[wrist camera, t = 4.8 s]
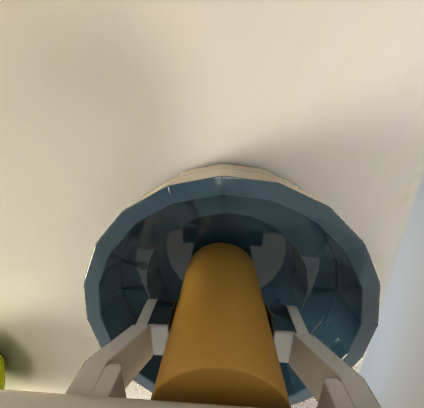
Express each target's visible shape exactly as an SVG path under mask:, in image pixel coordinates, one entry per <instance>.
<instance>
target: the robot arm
mask: <svg viewBox="0 0 424 408" xmlns="http://www.w3.org/2000/svg"><path fill="white" fill-rule="evenodd" d="M176 306H177V300H164V299H148V300H147V302H146V304H145V306H144V308H143V310H142V312H141V314H140V316H139V318H138V321H137V323H136V325H132V326H130V327H129V328H128V329H126V330H125V331H124V332H123V333H121V334H120V335H119V336H117V337H116V338H115V339H114V340H112V341H111V342H110V343H108V344H107V345H106V346H104V347H103V348H102V349H101V350H99V351H98V352H97V353H95V354H94V355H93V356H92V357H90V358H89V359H88V360H86V361H85V363H84V364H83V366H82V368H81V369H80V371H79V372H78V374H77V376H76V377H75V379H74V380H73V382H72V384H71V385H70V387H69V388H68V390H67V392H66V393H65V394H58V393H43V392H29V391H15V390H0V408H258V407H243V406H229V405H215V404H201V403H186V402H172V401H158V400H144V399H129V398H126V393H125V388H126V387H127V386H128V385H129V384H130V382H131V381H132V380H133V379H134V378H135V377H136V375H137V374H138V373H139V372H140V371H141V370H142V368H143V367H144V366H145V365H146V364H147V363H148V361H149V360H150V359H151V358H152V357H153V355H163V353H164V350H165V346H166V342H167V339H168V335H169V332H170V328H171V324H172V321H173V317H174V313H175V310H176ZM265 308H266V312H267V316H268V320H269V324H270V328H271V332H272V336H273V340H274V343H275V347H276V351H277V355H278V359H279V362H282V363H289V365H290V367H291V368H292V369H293V370H294V372H295V373H296V374H297V376H298V377H299V378H300V380H301V381H302V382H303V383H304V385H305V386H306V387H307V389H308V390H309V391H310V393H311V394H312V395H313V396H314V398H315V399H316V400H317V402H318V406H317V408H381V406H380V405H379V403H378V401H377V400H376V398H375V396H374V395H373V393H372V391H371V389H370V388H369V386H368V384H367V383H366V381H365V379H364V378H363V377H361V376H360V375H359V374H358V373H357V372H356V371H355V370H353V369H352V368H351V367H350V366H349V365H348V364H346V363H345V362H344V361H343V360H342V359H341V358H339V357H338V356H337V355H336V354H335V353H334V352H332V351H331V350H330V349H329V348H328V347H327V346H325V345H324V344H323V343H322V342H321V341H320V340H318V339H317V338H316V337H315V336H314V335H313V334H309V332H308V330H307V328H306V326H305V324H304V321H303V319H302V317H301V315H300V313H299V310H298V308H297V307H296V306H294V305H265Z"/></svg>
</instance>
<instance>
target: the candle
mask: <svg viewBox="0 0 424 408" xmlns="http://www.w3.org/2000/svg"><path fill="white" fill-rule="evenodd" d="M151 400H158V401H172V402H186V403H201V404H215V405H229V406H243V407H258V408H291V406H290V402H289V398H288V394H287V390H286V386H285V382H284V379H283V375H282V371H281V367H280V363H279V359H278V355H277V351H276V347H275V343H274V340H273V336H272V332H271V328H270V324H269V320H268V316H267V312H266V308H265V305H264V301H263V297H262V293H261V289H260V285H259V281H258V277H257V273H256V269H255V266H254V263H253V261H252V259H251V257H250V256H249V255H248V254H247V253H246V252H245V251H244V250H242V249H241V248H239V247H237V246H235V245H232V244H228V243H213V244H209V245H206V246H204V247H202V248H200V249H199V250H198V251H196V252H195V253H194V255H193V256H192V257H191V259H190V261H189V263H188V267H187V270H186V274H185V277H184V281H183V285H182V288H181V292H180V295H179V299H178V303H177V306H176V310H175V313H174V317H173V321H172V324H171V328H170V332H169V335H168V339H167V342H166V346H165V350H164V353H163V357H162V360H161V364H160V368H159V371H158V375H157V378H156V382H155V386H154V389H153V393H152V396H151Z"/></svg>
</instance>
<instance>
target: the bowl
mask: <svg viewBox="0 0 424 408" xmlns="http://www.w3.org/2000/svg"><path fill="white" fill-rule="evenodd" d="M213 243H228V244H232V245H235V246H237V247H239V248H241V249H242V250H244V251H245V252H246V253H247V254H248V255H249V256H250V257H251V259H252V261H253V263H254V266H255V269H256V273H257V277H258V281H259V285H260V289H261V293H262V297H263V301H264V305H294V306H296V307H297V308H298V310H299V313H300V315H301V317H302V319H303V321H304V324H305V326H306V328H307V330H308V332H309V334H313V335H314V336H315V337H316V338H317V339H318V340H320V341H321V342H322V343H323V344H324V345H325V346H327V347H328V348H329V349H330V350H331V351H332V352H334V353H335V354H336V355H337V356H338V357H339V358H341V359H342V360H343V361H344V362H345V363H346V364H348V365H349V366H350V367H351V368H352V367H353V366H354V365H355V364H356V363H357V362H358V361H359V360H360V359H361V357H363V355H364V353H365V351H366V349H367V347H368V345H369V342H370V340H371V338H372V336H373V334H374V332H375V330H376V328H377V326H378V317H379V297H380V282H379V279H378V277H377V274H376V271H375V269H374V266H373V264H372V261H371V259H370V256H369V253H368V251H367V248H366V246H365V244H364V242H363V241H362V240H361V239H360V238H359V237H358V236H357V235H356V234H355V232H354V231H353V230H352V229H351V228H350V227H349V226H348V225H347V224H346V223H345V222H344V221H343V220H342V219H341V218H340V217H339V216H338V215H337V214H336V213H335V212H334V211H333V210H332V209H331V208H330V207H329V206H327V205H326V204H324V203H323V202H321V201H319V200H318V199H316V198H315V197H313V196H311V195H310V194H308V193H306V192H305V191H303V190H302V189H300V188H298V187H297V186H295V185H294V184H292V183H290V182H288V181H286V180H284V179H282V178H280V177H277V176H275V175H273V174H271V173H269V172H267V171H265V170H263V169H260V168H254V167H246V166H238V165H231V164H218V165H212V166H207V167H202V168H197V169H192V170H187V171H185V172H183V173H181V174H180V175H178V176H176V177H174V178H173V179H171V180H169V181H167V182H166V183H164V184H162V185H160V186H158V187H157V188H155V189H154V190H152V191H151V192H149V193H148V194H147V195H145V196H144V197H142V198H141V199H139V200H138V201H136V202H135V203H133V204H132V205H130V206H129V207H128V208H126V209H125V210H123V211H122V212H121V214H120V215H119V216H118V217H117V218H116V220H115V221H114V222H113V223H112V224H111V226H110V227H109V228H108V229H107V230H106V232H105V233H104V234H103V235H102V236H101V238H100V239H99V240H98V241H97V242H96V245H95V247H94V250H93V253H92V257H91V260H90V263H89V266H88V269H87V273H86V276H85V279H84V289H85V300H86V311H87V319H88V321H89V323H90V325H91V328H92V330H93V332H94V334H95V336H96V338H97V340H98V342H99V345H100V347H101V349H102V348H103V347H104V346H106V345H107V344H108V343H110V342H111V341H112V340H114V339H115V338H116V337H117V336H119V335H120V334H121V333H123V332H124V331H125V330H126V329H128V328H129V327H130V326H132V325H136V323H137V321H138V318H139V316H140V314H141V312H142V310H143V308H144V306H145V304H146V302H147V300H148V299H164V300H177V303H178V299H179V295H180V292H181V288H182V285H183V281H184V277H185V274H186V270H187V267H188V263H189V261H190V259H191V257H192V256H193V255H194V253H195V252H196V251H198V250H199V249H200V248H202V247H204V246H206V245H209V244H213ZM162 357H163V355H153V357H152V358H151V359H150V360H149V361H148V363H147V364H146V365H145V366H144V367H143V368H142V370H141V371H140V372H139V373H138V374H137V375H136V377H135V378H134V379H133V381H135V382H137V383H138V384H140V385H141V386H143V387H144V388H146V389H147V390H149V391H150V392H152V393H153V389H154V386H155V382H156V378H157V375H158V371H159V368H160V364H161V360H162ZM279 363H280V367H281V371H282V375H283V379H284V382H285V386H286V390H287V394H288V398H289V402H290V405H293V404H297V403H301V402H304V401H305V400H307V399H309V398H311V397H313V395H312V394H311V393H310V391H309V390H308V389H307V387H306V386H305V385H304V383H303V382H302V381H301V380H300V378H299V377H298V376H297V374H296V373H295V372H294V370H293V369H292V368H291V367H290V365H289V363H282V362H279Z"/></svg>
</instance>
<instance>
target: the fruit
mask: <svg viewBox="0 0 424 408" xmlns="http://www.w3.org/2000/svg"><path fill="white" fill-rule="evenodd" d="M4 387H5V366H4V359H3V357H2V356H1V354H0V390H4Z"/></svg>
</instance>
